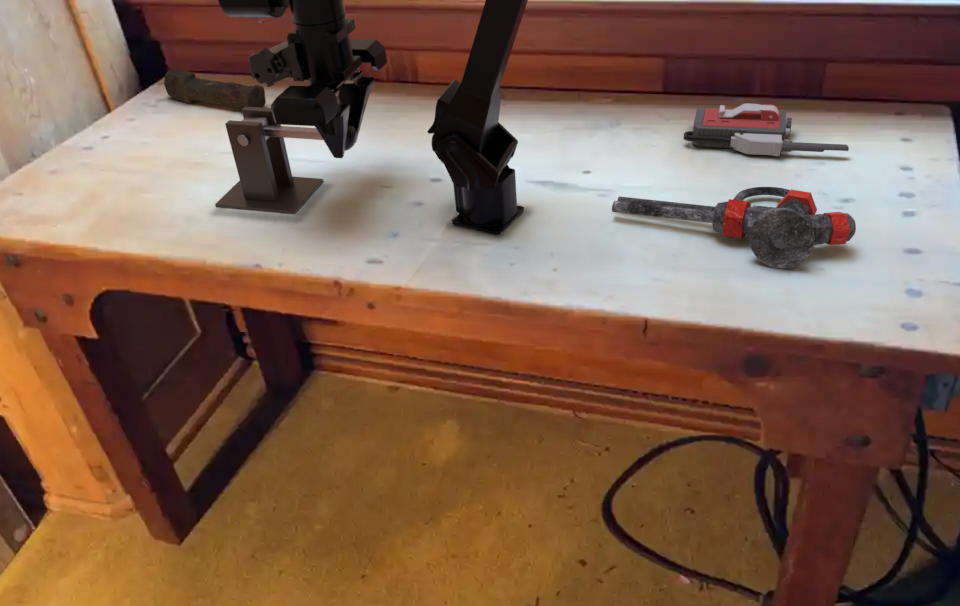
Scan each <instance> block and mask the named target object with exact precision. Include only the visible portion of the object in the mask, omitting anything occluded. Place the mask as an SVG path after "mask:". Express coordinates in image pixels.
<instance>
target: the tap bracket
mask: <svg viewBox="0 0 960 606" xmlns="http://www.w3.org/2000/svg"><path fill="white" fill-rule="evenodd" d="M241 114H242V117H243V119H244V118H246V117H247V116H248V117H265V118H267V120H268V124H269V125H274V126H282V125H279V124H276V123H275V122H274V118H273V114H272V110H271V107H263V108H260V107H244V108H243V109H242V108H241ZM224 126H225V129H226V133H227V136H228V140H229V144H230V147H231V151H232V156H233V159H234V163H235V168H236V171H237V174H238V178H239V180H238V182H236V183H235V184H234V185H233V186H232V187H231V189H229V190H228V191H227V192H226V193H225V194H224V195H223V196H222V197H220V199H219V200H218V201H216V203H215V204H214V206H215V208H218V209H219V208H220V209H231V210H239V211H240V210H242V211H251V212H262V213H272V214H273V213H274V214H283V215H284V214H285V215H295V214H296V213H297V212H298V211H299V210H300V209H301V208H302V207H303V206H304V205H305V204H306V202H307V201H308V200H309V199H310V198H311V197H312V196H313V194H314V193H315V192H316V191H317V190H318V189H319V188H320V187H321V186H322V185H323V183H324V179H323V178H316V177H304V176H293V174H292V170H291V169H292V168H291V164H290V160H289V155H288V152H287V146H286V142H285V138H284V137H269V138H268V139H267V140H266V139H265V135H264V130H263V126H262V122H248V121H242V120H233V119H232V120H230V119H229V120H227V121H226V122H225V123H224Z"/></svg>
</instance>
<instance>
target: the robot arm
mask: <svg viewBox="0 0 960 606" xmlns="http://www.w3.org/2000/svg"><path fill="white" fill-rule="evenodd" d="M217 1H218V4H219V6H220V8H221V10H222V11H223V13H224V14H225V15H226V16H228V17H229V18H240V19H241V18H242V19H243V18H248V19H249V18H251V19H252V18H255V19H256V18H257V19H258V18H259V19H260V18H261V19H263V18H264V19H266V18H267V19H274V18H275V19H277V18H281V17H282V16H283V15H284V14H285V13H286V11H287V9H288V8H289V7H290V12H291V18H292V22H293V26H294V28H293V29H292V30H290V31H289V32H288V33H287V36H286V41H283V42H281V43H278V44H276V45H274V46H271V47H270V48H267V47H263V48H262V49H260V50H257V51H255V52H253V53H251V54H250V55H249V56H248V61H249V68H250V75H251V78H252V79H253V80H255V81H256V82H257V83H258V84H260V85H263V84H264V85H265V86H266V88H271V87H273V86H274V85H275V83H277V82H280V81H283V80H285V79H287V78H290V77H292V80H293V82H305V81H308V82H309V84H308V85H289V86H288V87H286V89H285V90H283V91H282V92H281V93H280V94H279V95H277V96H276V98H275V99H274V100H273V101H272V103H271V104H270V108H271V110H272V114H273V118H274V122H275V123H276V124H279V125H281V126H301V127H314V128H316V129H317V130H318V132H319V133H320V135H321V136H322V138H323V140H322V141H323V142H324V143H325V145H326V147H327V148H328V150H329V152H330V153H331V155H332V157H333V158H334V159H343V158H344V155H345V152H346V151H345V144H346V135H347V126H348V122H350V123H351V124H352V125H353V126H354V127H355V129H356V132H357V139H356V142H355V144H356V143H357V142H358V138H359V133H360V130H361V126H362V122H363V119H364V115H365V113H366V108H367V106H368V105H367V104H368V101H369V98H370V95H371V91H372V88H373V85H374V84H375V81H376V78H375V77H374V76H370V75H369V76H368V75H367V76H364V71H363V70H360V68H361V66H362V65H363V64H370V66H371V68H372V69H373V70H374V71H380V70H381V69H383V67H384V66H385V65H386V64H388V59H387V52H386V47H385V46H384V45H383V43H381V41H379V40H378V39H375V38H374V39H372V38H371V39H369V38H368V39H367V38H366V39H365V38H351V36H350V34H351V33H352V32H353V31H354V30H356V22H355V19H354V18H348V17H347V13H346V6H345V2H344V0H217ZM528 1H529V0H485V1H484V5H483V8H482V12H481V15H480V18H479V22H478V25H477V27H476V31H475V35H474V39H473V42H472V45H471V49H470V52H469V55H468V58H467V61H466V65H465V69H464V72H463V75H462V79H461V82H460V81H458V80H457V79H455V78H454V79H453V80H452V81H451V83H450V84H449V85H448V86H447V88H446V89H445V90H444V91H443V92H442V94H441V95H440V96H439V97H438V99H436V100H437V101H436V104H435V111H434V120H433V122H432V124H431V126H430V127H429V128H428V130H427V134H430V135H431V134H432V137H431V150H432V152H434V153H435V155H436V157H437V159H439V161H440V162H441V163H442V164H443V165H444V167H445V169H446V171H447V174H448V176H449V178H450V180H451V182H452V184H453V186H452V187H453V194H454V195H453V196H454V205H455V212H456V213H457V215H456V216H455V217H453V218H452V219H451V224H452V225H453V226H456V227H460V228H464V229H467V230H472V231H476V232H480V233H483V234H488V235H492V236H499V235H501V234H502V233H504V231H506V230H507V229H508V228H509V227H510V226H511V225H512V224H513V223H514V222H515V221H516V220H517V219H518V218H520V216H521V215H522V214H523V213H524V212H525V207H524V206H522V205H519V204H518V200H517V199H518V198H517V180H516V169H515V168H511V167H510V166H509V165H508V164H509V163H510V161H511V159H512V158H514V156H515V153H516V150H517V147H518V144H519V140H518V139H517V138H516V137H515V136H514V135H513V134H512V133H510V131H509V130H508V129H507V128H505V127H504V126H503V124H501V123H500V122H499V120H500V112H501V83H502V80H503V77H504V75H505V70H506V68H507V65H508V62H509V59H510V56H511V52H512V50H513V46H514V44H515V41H516V37H517V34H518V31H519V28H520V26H521V22H522V19H523V17H524V14H525V10H526V7H527V5H528Z"/></svg>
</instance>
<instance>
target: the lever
mask: <svg viewBox="0 0 960 606" xmlns="http://www.w3.org/2000/svg"><path fill="white" fill-rule="evenodd" d="M241 121H248V122H262V126H263V130H264V135H265V139H266V140H267V139H268V138H269V137H284V139H285V138H286V139H301V140H313V141H314V140H317V141H324V140H323V138H322V136H321V135H320V133H319V132H318V130H317V129H316V127H307V126H291V125H281V126H274V125H269V124H268V120H267V118H265V117H248V116H247V117H246V118H243V119H242V120H241ZM356 139H357V140H358V138H357V132H356V129H355V127H354V126H353V125H352V124H351V123H350V122H348V126H347V135H346V144H345V151H344V152H347V151H348V150H351V149H352V148H353V147H354V146H355V144H356V143H357V142H356ZM355 142H356V143H355Z"/></svg>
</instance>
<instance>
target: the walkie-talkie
mask: <svg viewBox="0 0 960 606" xmlns="http://www.w3.org/2000/svg"><path fill="white" fill-rule="evenodd" d="M792 122H793V118H792V117H790V116H789V117H787V112H786V111H784V110H780V109H779V108H778V106H776V105H775V104H769V103H768V104H767V103H763V104H760V103H746V102H745V103H743V104H740V105H739V106H737V107H735V108H726V105H723V104H720V105H719V108H715V107H713V108H710V107H698V108H696V111H695V116H694V120H693V128H692V130H689V131H685V132H684V133H683V140H685V141H686V142H687V141H688V142H692V143H691V145H692V144H693V145H694V146H696V147H698V148H717V149H733V150H735V151H737V152H740V153H742V154H745V155H756V156H757V155H758V156H772V157H780V156H781V152H787V153H788V152H790V153H791V152H793V151H794V152H813V153H814V152H815V153H824V152H825V151H836V152H837V151H838V152H842V151H843V152H849V150H850V148H849V145H848V144H843V143H841V144H840V143H823V142H822V143H821V142H802V141H801V142H799V141H798V142H797V141H793V140H789V138H788V139H786V136H790V134H791V130H792Z"/></svg>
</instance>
